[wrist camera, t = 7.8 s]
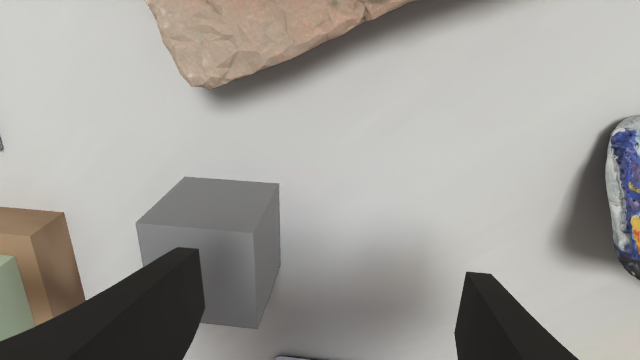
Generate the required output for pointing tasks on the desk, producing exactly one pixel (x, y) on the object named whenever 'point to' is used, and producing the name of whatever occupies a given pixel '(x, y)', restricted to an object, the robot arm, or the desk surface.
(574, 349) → the desk surface
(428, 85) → the desk surface
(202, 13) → the brick
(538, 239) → the desk surface
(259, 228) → the charcoal block
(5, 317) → the sage block
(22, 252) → the light brown block
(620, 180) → the snack package
